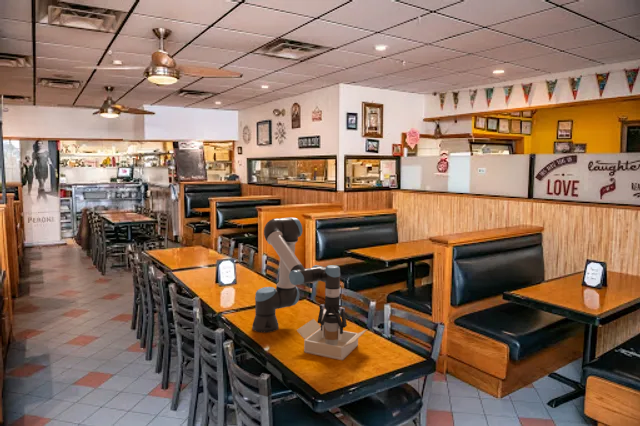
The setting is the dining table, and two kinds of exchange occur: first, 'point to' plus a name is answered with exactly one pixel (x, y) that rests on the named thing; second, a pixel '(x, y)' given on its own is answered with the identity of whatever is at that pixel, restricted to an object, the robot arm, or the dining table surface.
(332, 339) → the coffee cup
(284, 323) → the dining table surface
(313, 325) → the flap
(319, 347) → the carton
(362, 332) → the flap
